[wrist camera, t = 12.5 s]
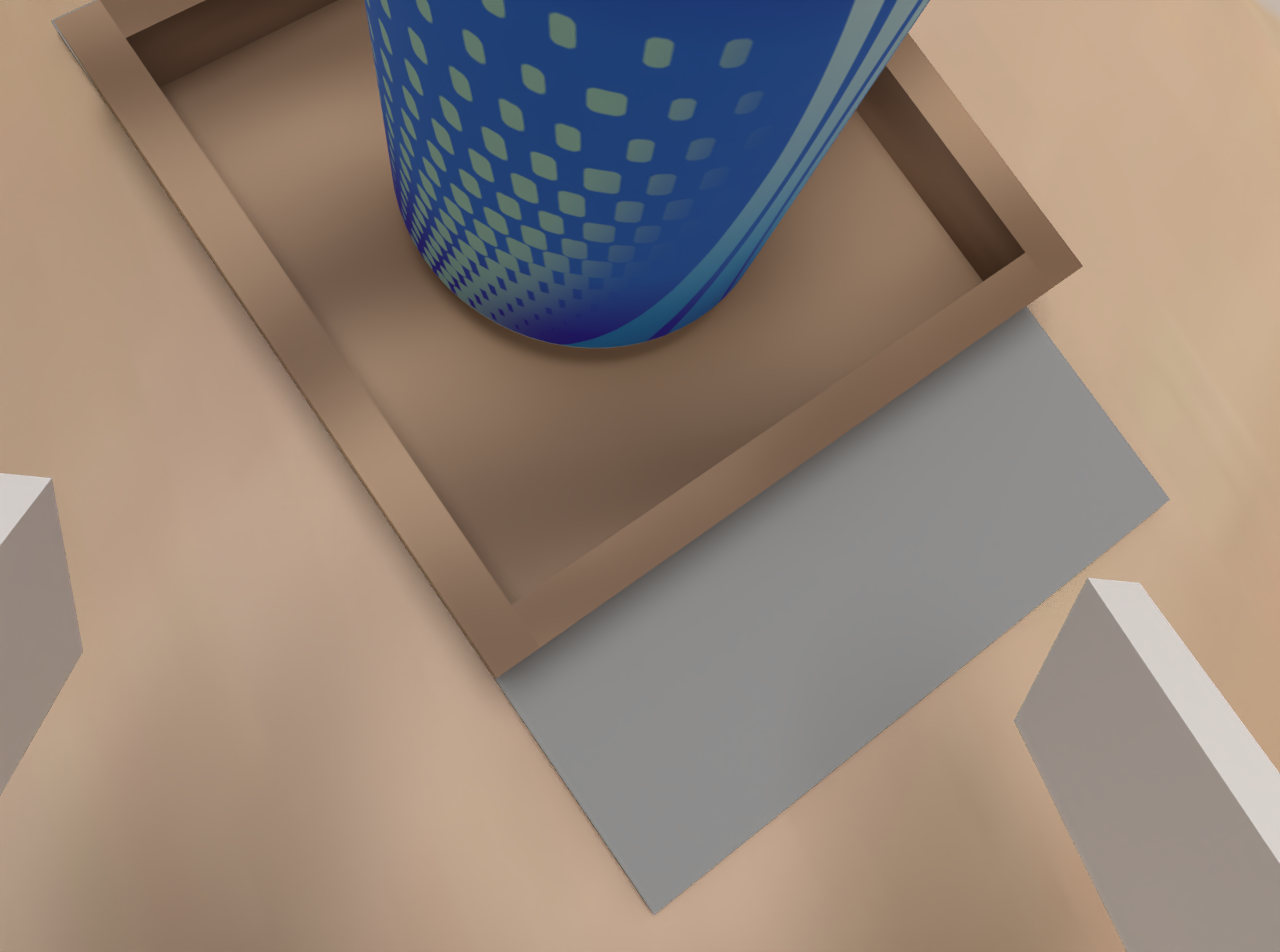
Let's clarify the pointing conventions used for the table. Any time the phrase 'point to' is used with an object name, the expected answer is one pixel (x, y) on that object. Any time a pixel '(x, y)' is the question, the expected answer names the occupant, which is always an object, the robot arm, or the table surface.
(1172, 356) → the table surface
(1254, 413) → the table surface
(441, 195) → the beer can
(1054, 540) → the placemat
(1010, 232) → the tray
